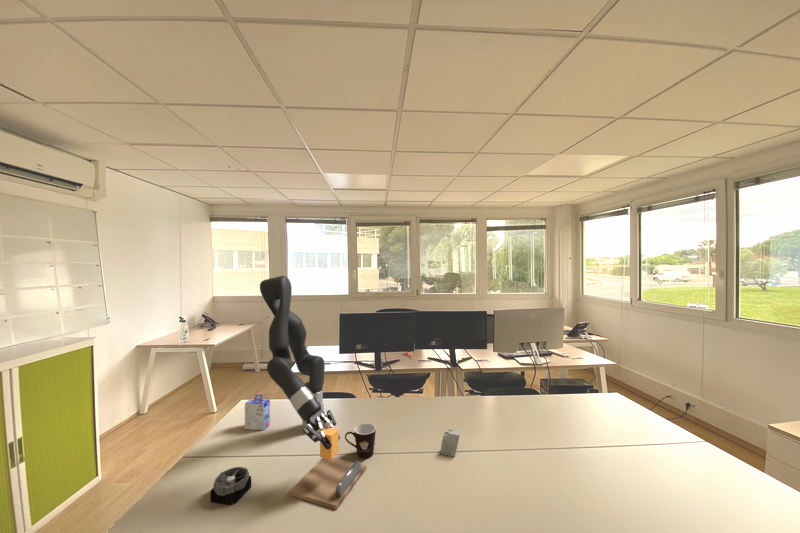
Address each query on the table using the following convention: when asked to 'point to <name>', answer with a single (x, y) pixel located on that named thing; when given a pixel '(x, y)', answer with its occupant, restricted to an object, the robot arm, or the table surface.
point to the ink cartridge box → (257, 413)
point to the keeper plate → (329, 482)
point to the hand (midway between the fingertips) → (334, 443)
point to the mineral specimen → (450, 442)
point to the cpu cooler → (231, 486)
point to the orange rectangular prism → (334, 440)
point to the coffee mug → (364, 439)
